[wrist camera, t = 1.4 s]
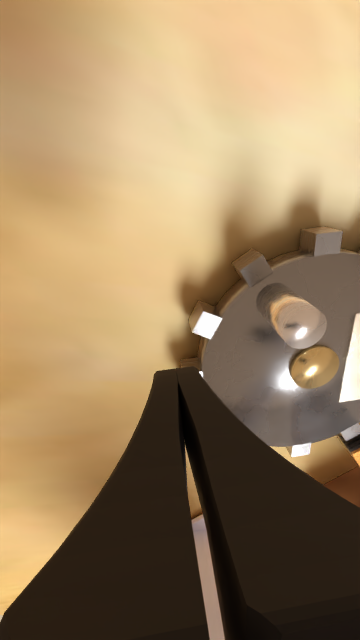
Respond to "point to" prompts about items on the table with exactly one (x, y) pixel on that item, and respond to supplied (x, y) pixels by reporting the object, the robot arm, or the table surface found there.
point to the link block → (347, 486)
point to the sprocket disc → (287, 343)
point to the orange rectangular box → (352, 447)
